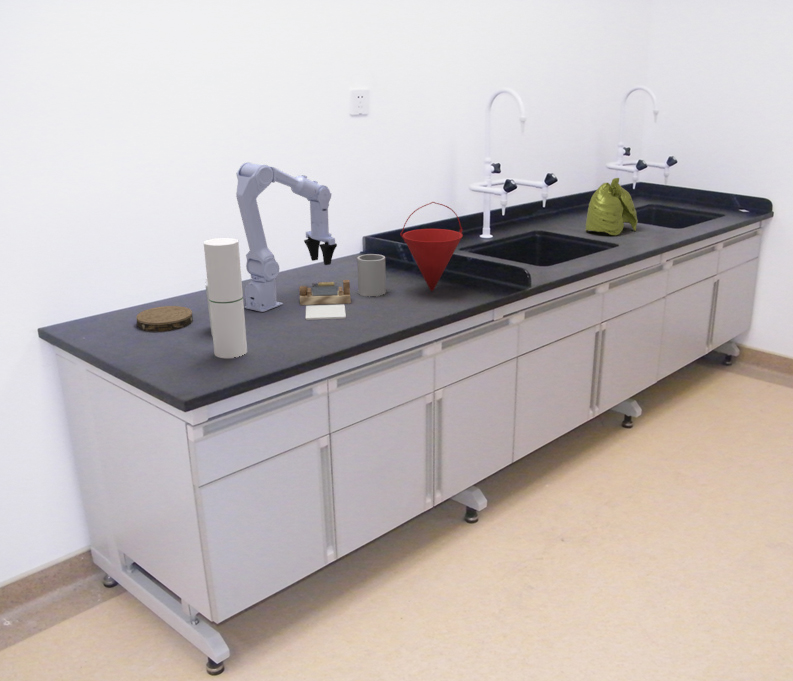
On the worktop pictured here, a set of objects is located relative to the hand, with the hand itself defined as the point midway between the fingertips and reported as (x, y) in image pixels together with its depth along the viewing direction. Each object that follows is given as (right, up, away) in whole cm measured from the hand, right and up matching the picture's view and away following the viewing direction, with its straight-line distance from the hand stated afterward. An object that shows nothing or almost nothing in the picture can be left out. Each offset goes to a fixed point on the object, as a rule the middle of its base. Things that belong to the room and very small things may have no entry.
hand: (321, 262), depth 252 cm
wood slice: (-44, -21, -27) cm, 55 cm away
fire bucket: (+37, -10, +2) cm, 38 cm away
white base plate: (+3, -17, -19) cm, 26 cm away
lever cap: (+2, -11, -9) cm, 14 cm away
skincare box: (-26, -23, -33) cm, 48 cm away
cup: (+17, -10, +1) cm, 20 cm away
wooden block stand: (+2, -13, -8) cm, 16 cm away
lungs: (+121, +22, +87) cm, 150 cm away
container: (-19, -29, -50) cm, 61 cm away
